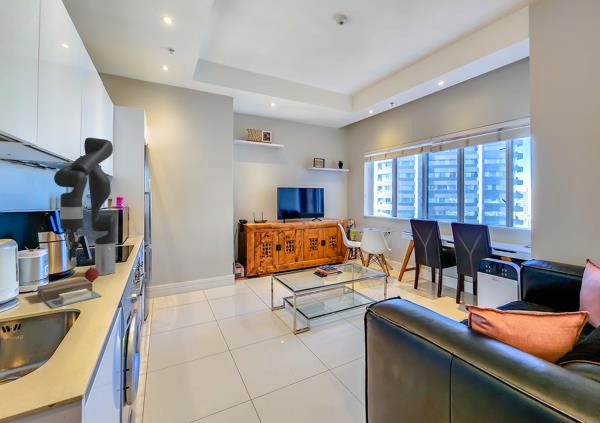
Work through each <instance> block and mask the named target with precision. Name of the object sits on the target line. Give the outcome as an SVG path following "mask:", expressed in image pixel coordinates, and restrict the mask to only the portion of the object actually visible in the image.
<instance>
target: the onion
mask: <svg viewBox="0 0 600 423" xmlns="http://www.w3.org/2000/svg"><path fill="white" fill-rule="evenodd" d="M99 276H100V275H99V272H98V270H97V269H95V267H93V265H91V266H90V267H89V269H86V271H85V272H84V279H86V280H88V281H90V282H92V283H93V282H94V281H95V280H97V279H98V278H99Z"/></svg>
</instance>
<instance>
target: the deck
mask: <svg viewBox="0 0 600 423" xmlns="http://www.w3.org/2000/svg"><path fill="white" fill-rule="evenodd" d="M82 289H87V290H89V291H93V281H92V282H91V281H89V280H87V279H86V278H85V277H81V278H76V279H75V278H74V279H70V280H65V281H60V282H55V283H49V284H43V285H42V284H41V285H38V286H37V296H38V297H39V298H40V299H41V300H42V301H43V302H45V301H48V300H53V299H57V298H59V294H63V293H68V292H73V291H77V290H82ZM45 303H46V302H45Z"/></svg>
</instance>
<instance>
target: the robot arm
mask: <svg viewBox="0 0 600 423" xmlns="http://www.w3.org/2000/svg"><path fill="white" fill-rule="evenodd" d="M83 148H84V155H82V156H80V157H77V159H75V160H74V161H73V162H72V163H71V164H69V165H66V166H65V167H62V168H61V169H59V170H58V171H56V172H55V174H54V176H53V181H54V183H55V184H56V186H59V187H62V188H73V189H72V191H71V192H63V193H61V194H60V210H59V228H60V229H61V230H65V233H64V235H63V238H64V241H65V246H66V248H67V249H68V258H69V259H73V258H77V249H78V248H79V246H80V242H81V238H82V237H81V236H80V232H79V229H83V228H84V210H83V196H84V192H85V189H86V186H87V183H88V190H89V197H90V198H89V199H90V211H91V212H90V213H91V214H90V219H91V220H90V221H91V222H90V223H91V224H90V225H91V229H92V231H93V232H107V233H106V234H105V235H102V236H100V237H96V238H95V239H94V253H95V254H94V257H95V258H94V261H95V262H94V266H95V267H94V268H95V269H97V270H98V272H99V276H106V275H107V274H108V275H112V274H114V272H115V273H116V226H117V225H116V223H117V220H116V216H115V215H113V214H100V210H101V208H102V206H103V204H105V202H106V201H107V200H108V198H109V197H110V195H111V193H112V192H111V191H112V189H111V180H110V179H109V177H108V176H107V174H106V173H105V172H104V171H103V169H102V168H101V166H100V165H99V164H101V163H103V162H105V160H107V159H109V158H110V157H111V156H112V154H113V150H114V146H113V143H112V141H110V140H108V139H104V138H97V137H86V138H85V139H84V147H83ZM87 176H88V177H87ZM111 273H112V274H111Z"/></svg>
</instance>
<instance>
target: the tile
mask: <svg viewBox="0 0 600 423" xmlns="http://www.w3.org/2000/svg"><path fill="white" fill-rule="evenodd" d="M86 298H91V291H89V290H87V289H82V290H77V291H73V292H68V293H63V294H59V301H61V302H62V303H63V304H65V303H69V302H74V301H78V300H82V299H86Z"/></svg>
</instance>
